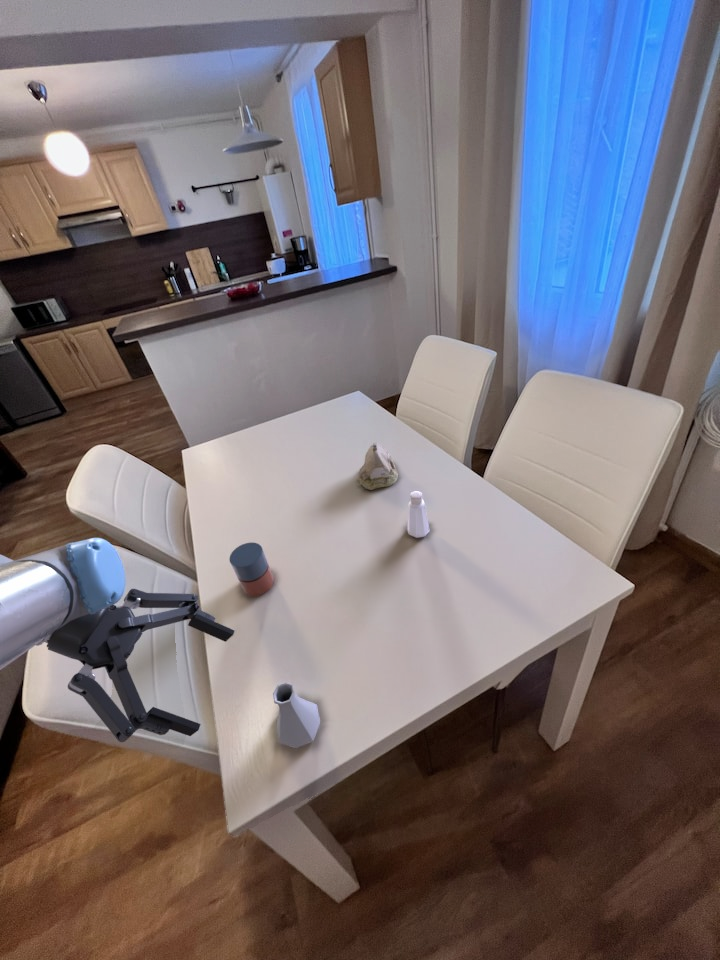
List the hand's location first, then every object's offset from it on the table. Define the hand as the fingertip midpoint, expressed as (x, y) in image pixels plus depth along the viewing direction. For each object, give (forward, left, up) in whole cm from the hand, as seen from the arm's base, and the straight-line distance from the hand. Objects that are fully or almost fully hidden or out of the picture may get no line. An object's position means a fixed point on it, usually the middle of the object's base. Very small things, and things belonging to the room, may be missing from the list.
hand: (214, 679), depth 58 cm
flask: (+3, -9, -14) cm, 17 cm away
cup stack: (+25, +15, -14) cm, 32 cm away
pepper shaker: (+51, -14, -14) cm, 55 cm away
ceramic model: (+70, +4, -14) cm, 72 cm away
